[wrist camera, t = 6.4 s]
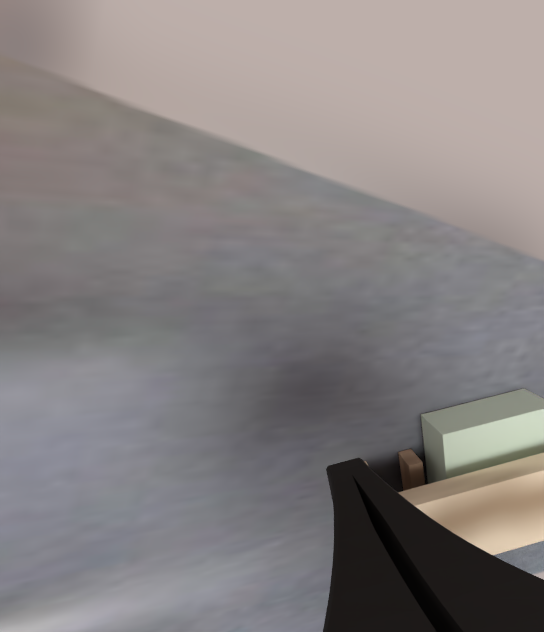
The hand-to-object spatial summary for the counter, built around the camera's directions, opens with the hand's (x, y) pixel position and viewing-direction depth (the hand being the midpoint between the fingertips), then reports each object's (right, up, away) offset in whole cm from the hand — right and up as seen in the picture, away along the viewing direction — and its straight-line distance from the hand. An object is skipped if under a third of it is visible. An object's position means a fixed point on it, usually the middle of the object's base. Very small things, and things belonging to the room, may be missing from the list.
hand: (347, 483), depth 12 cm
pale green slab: (+12, -3, +12) cm, 17 cm away
